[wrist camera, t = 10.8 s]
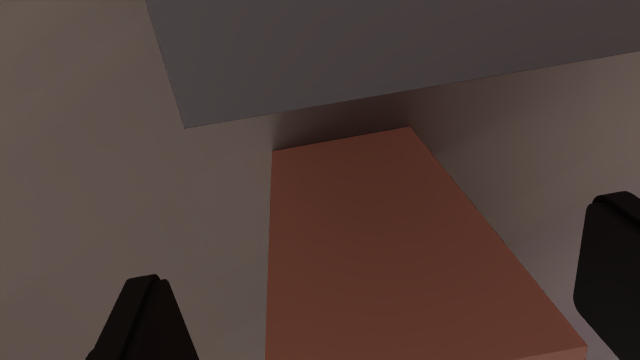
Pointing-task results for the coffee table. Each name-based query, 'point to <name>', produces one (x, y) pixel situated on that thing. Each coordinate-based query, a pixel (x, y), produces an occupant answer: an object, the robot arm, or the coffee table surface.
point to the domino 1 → (367, 47)
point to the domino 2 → (395, 263)
